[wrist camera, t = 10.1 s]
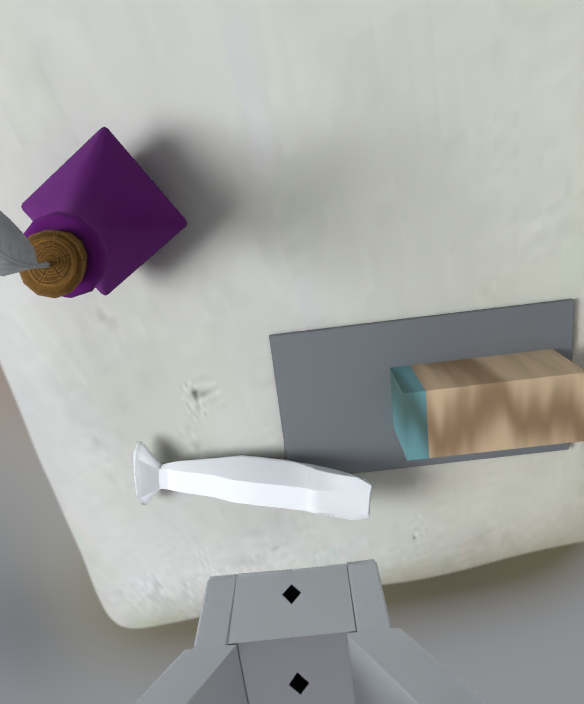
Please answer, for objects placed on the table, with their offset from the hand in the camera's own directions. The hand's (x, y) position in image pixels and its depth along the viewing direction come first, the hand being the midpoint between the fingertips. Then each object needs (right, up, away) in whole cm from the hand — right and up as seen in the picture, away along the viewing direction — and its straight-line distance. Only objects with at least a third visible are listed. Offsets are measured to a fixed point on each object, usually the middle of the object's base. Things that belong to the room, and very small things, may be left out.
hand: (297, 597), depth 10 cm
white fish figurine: (-3, -5, +34) cm, 35 cm away
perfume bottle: (-12, +14, +28) cm, 34 cm away
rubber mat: (+10, +1, +32) cm, 34 cm away
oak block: (+8, 0, +30) cm, 31 cm away
